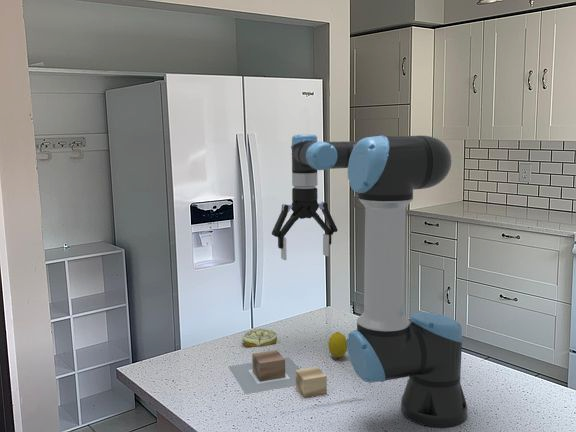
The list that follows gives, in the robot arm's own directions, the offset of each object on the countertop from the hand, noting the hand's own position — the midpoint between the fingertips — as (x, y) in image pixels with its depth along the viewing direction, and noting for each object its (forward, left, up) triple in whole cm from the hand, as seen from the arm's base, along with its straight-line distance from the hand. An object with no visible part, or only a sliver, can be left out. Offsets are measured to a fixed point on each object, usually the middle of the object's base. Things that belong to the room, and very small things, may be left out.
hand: (305, 257), depth 173 cm
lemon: (-12, -5, -28) cm, 31 cm away
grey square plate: (-18, +18, -28) cm, 38 cm away
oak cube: (-31, +11, -28) cm, 43 cm away
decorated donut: (+7, +13, -28) cm, 32 cm away
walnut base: (-18, +18, -27) cm, 37 cm away
